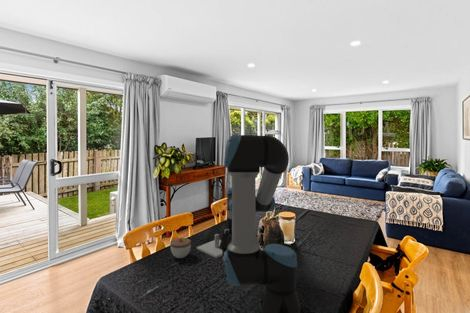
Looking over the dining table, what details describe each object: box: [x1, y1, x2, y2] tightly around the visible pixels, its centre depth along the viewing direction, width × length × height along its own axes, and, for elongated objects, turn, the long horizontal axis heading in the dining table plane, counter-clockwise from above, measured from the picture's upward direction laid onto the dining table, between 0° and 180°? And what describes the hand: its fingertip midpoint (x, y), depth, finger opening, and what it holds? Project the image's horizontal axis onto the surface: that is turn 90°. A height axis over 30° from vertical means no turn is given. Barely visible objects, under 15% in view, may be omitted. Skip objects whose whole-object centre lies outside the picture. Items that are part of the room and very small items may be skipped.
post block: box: [196, 233, 223, 259], centre depth 149 cm, size 16×16×8 cm
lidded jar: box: [169, 237, 192, 259], centre depth 140 cm, size 11×11×9 cm
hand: (233, 257), depth 139 cm, fingers open, 12 cm apart
